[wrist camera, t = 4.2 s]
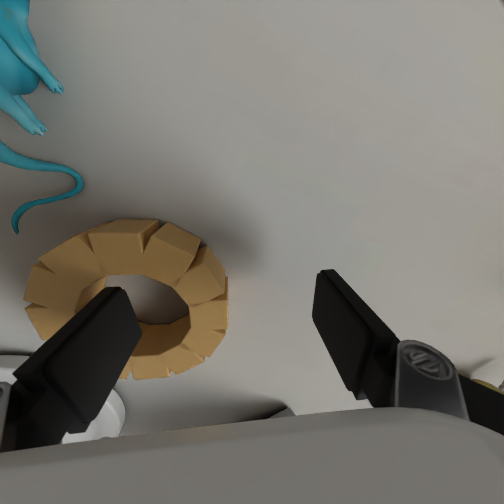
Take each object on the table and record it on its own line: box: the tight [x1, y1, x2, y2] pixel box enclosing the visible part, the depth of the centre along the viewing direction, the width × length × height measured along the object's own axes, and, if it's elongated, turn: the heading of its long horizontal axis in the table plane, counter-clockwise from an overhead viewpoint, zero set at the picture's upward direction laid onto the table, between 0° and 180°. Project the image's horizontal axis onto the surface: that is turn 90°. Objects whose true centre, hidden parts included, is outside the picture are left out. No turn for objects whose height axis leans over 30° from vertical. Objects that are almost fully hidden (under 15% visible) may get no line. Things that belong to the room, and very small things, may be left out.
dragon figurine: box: [0, 0, 83, 235], centre depth 6 cm, size 6×7×8 cm
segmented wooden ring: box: [24, 219, 228, 380], centre depth 11 cm, size 9×9×2 cm
